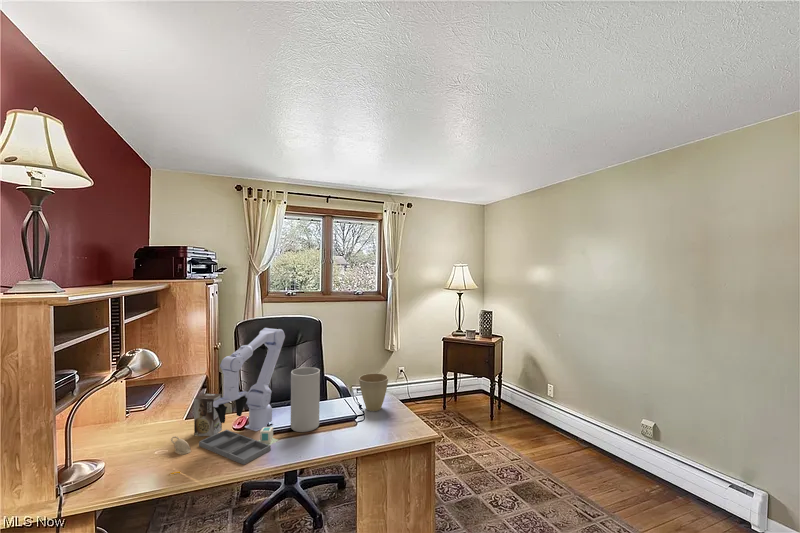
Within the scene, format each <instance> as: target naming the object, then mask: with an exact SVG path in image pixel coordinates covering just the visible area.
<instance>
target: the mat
mask: <svg viewBox="0 0 800 533" xmlns="http://www.w3.org/2000/svg"><path fill="white" fill-rule="evenodd" d="M279 440H280V439H278V438H275V437H273V440H272V441H271V443H270V444H268V445H271V446H272V445H273V444H275V443H277V442H278V441H279ZM257 441H260V439H259V440H257Z"/></svg>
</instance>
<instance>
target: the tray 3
mask: <svg viewBox="0 0 800 533" xmlns="http://www.w3.org/2000/svg"><path fill="white" fill-rule="evenodd" d="M271 446H272V444H271V445H268V444H265V443H263V442H260V441H258V440H257V439H254V441H252V442H250V443H248V444H246V445H244V446H242V447H240V448H238V449H236V450H234V451H232V452H230V453H228V458H227V459H229V460H231V461H234V462H236V463H239V464H241V465H244V466H245V465H246V464H248V463H250V462H252V461H253V460H255V459H257V458H259V457H261V456H263V455H265V454H267V453H268V452H270V451H271V450H272V447H271Z"/></svg>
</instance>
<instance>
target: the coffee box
mask: <svg viewBox="0 0 800 533" xmlns="http://www.w3.org/2000/svg"><path fill="white" fill-rule="evenodd" d="M222 397H223V394H222V393H201V394H199V395H198V396H196V397H194V398H193V404H194V405H193V406H194V408H193V411H194V414H193V415H194V416H193V419H194V420H193V422H194V425H193V426H194V427H193V428H194V429H193V431H194V433H193V434H194V435H193V436H194V437H205V436H206V437H210V436H213V435H215V434H217V433H220V432H222V431H223V425H222V424H223V423H221V422H220V419H219V416H218V413H217V411H216V410H215V408H214V407H213V402H214V401H216V400H218V399H220V398H222Z"/></svg>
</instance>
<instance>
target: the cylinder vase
mask: <svg viewBox="0 0 800 533" xmlns="http://www.w3.org/2000/svg"><path fill="white" fill-rule="evenodd" d="M320 371H321V369H320V368H317V367H308V366H307V367H299V368H295V369H292V370H291V372H290V429H291V430H293V432H296V433H307V432H312V431H314V430H316V429H317V428H318V427H319V426H320V400H321V399H320V398H321V397H320V388H321V387H320V383H321V382H320V381H321V374H320V373H321V372H320Z"/></svg>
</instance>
